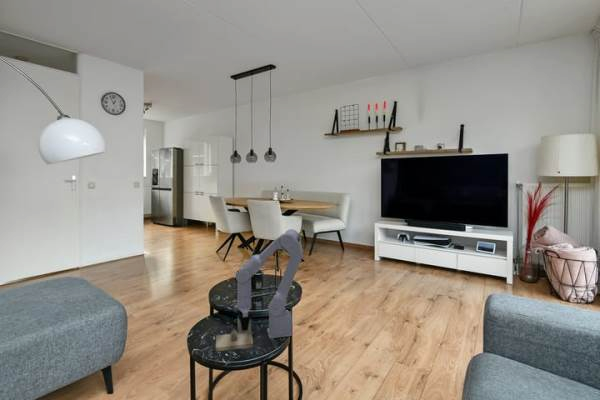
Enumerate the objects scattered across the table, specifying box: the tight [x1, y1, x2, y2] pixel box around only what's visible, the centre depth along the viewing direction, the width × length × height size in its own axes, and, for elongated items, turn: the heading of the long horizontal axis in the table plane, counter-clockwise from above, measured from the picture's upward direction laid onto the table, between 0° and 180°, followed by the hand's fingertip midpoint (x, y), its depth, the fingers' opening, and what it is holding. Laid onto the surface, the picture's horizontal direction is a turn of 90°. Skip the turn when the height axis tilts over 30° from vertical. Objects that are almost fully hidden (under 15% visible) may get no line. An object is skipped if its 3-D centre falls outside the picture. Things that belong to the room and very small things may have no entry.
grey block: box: [237, 317, 252, 333], centre depth 133 cm, size 5×5×6 cm
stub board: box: [215, 330, 254, 352], centre depth 122 cm, size 14×9×4 cm, turn 104°
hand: (244, 325), depth 133 cm, fingers open, 7 cm apart
